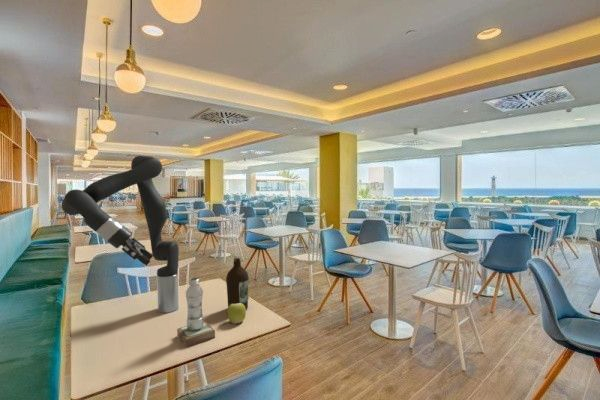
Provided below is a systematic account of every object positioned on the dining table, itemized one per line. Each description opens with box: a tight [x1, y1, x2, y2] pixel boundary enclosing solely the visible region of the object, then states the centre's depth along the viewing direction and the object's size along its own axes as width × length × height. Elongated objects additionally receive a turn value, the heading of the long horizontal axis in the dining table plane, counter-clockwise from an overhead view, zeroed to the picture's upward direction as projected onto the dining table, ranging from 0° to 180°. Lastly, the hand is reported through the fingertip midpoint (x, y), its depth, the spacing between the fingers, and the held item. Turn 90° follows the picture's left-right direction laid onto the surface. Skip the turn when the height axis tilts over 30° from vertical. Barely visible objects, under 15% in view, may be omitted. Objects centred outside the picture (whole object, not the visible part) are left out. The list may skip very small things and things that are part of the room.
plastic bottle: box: [185, 277, 205, 330], centre depth 122 cm, size 6×7×20 cm
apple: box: [226, 301, 247, 325], centre depth 136 cm, size 8×8×10 cm
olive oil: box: [225, 256, 250, 311], centre depth 149 cm, size 11×11×25 cm
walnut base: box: [176, 320, 216, 348], centre depth 123 cm, size 11×11×3 cm
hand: (150, 260), depth 118 cm, fingers open, 8 cm apart
